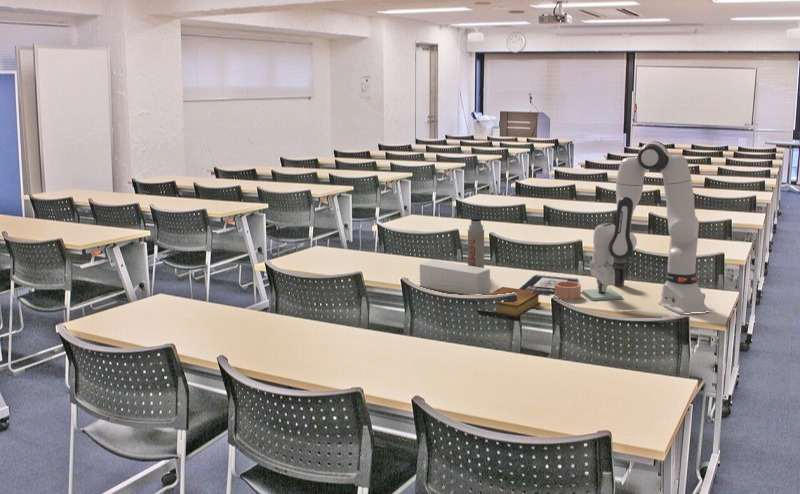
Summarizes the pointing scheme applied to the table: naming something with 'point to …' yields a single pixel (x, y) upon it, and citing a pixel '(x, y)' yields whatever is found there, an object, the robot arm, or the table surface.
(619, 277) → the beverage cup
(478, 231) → the thermos bottle
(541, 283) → the sketchbook
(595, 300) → the mat
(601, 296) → the teal square knobbed lid
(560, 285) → the bowl
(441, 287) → the white oblong block
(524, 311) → the diary
